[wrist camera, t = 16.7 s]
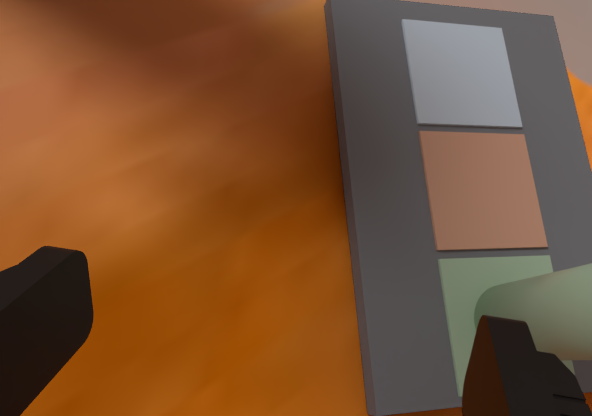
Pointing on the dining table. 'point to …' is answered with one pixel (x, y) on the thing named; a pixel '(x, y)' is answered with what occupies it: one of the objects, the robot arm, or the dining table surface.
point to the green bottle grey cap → (548, 310)
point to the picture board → (450, 181)
